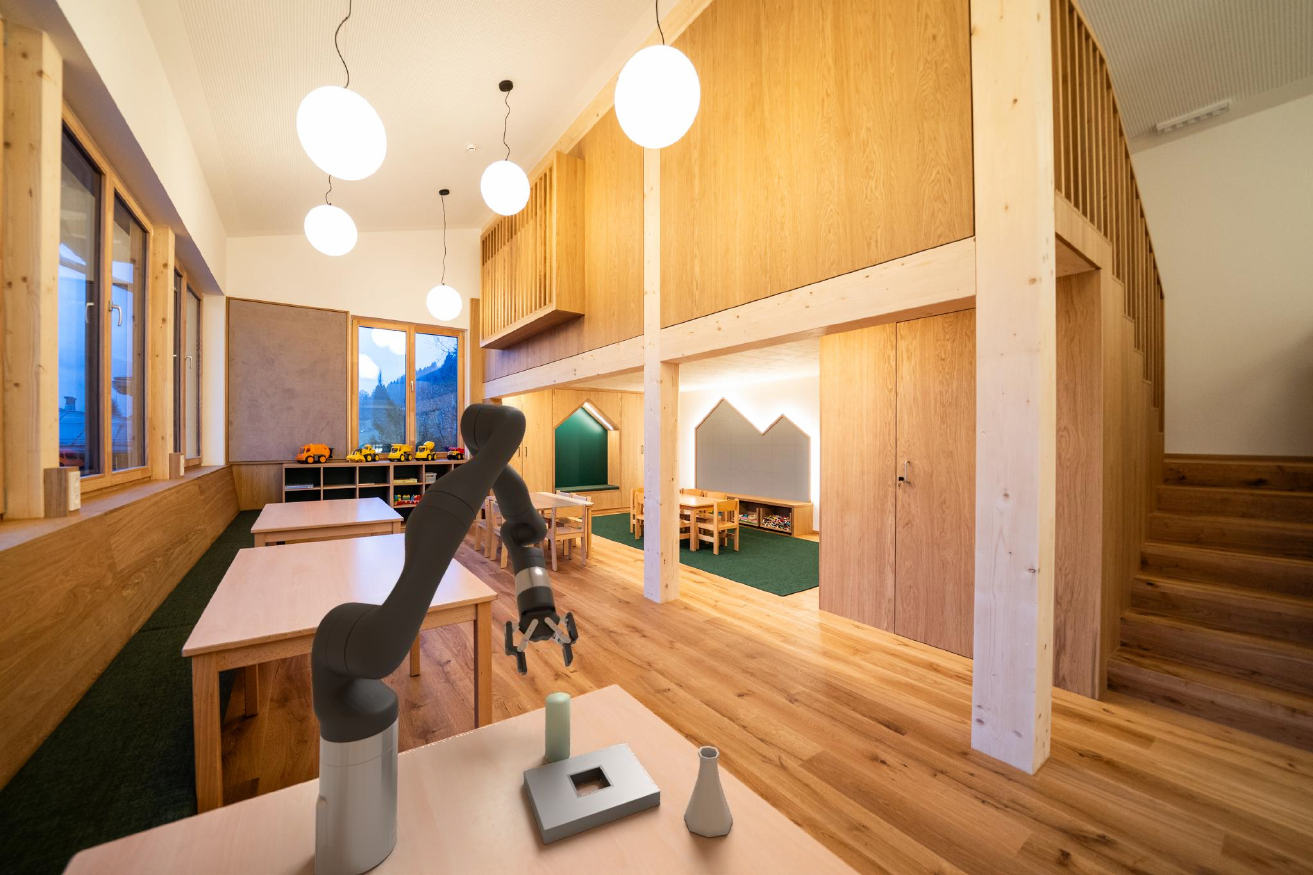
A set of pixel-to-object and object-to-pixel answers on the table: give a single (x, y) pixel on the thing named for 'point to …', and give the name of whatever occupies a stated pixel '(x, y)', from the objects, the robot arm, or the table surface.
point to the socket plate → (573, 813)
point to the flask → (708, 798)
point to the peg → (557, 727)
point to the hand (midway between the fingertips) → (547, 669)
